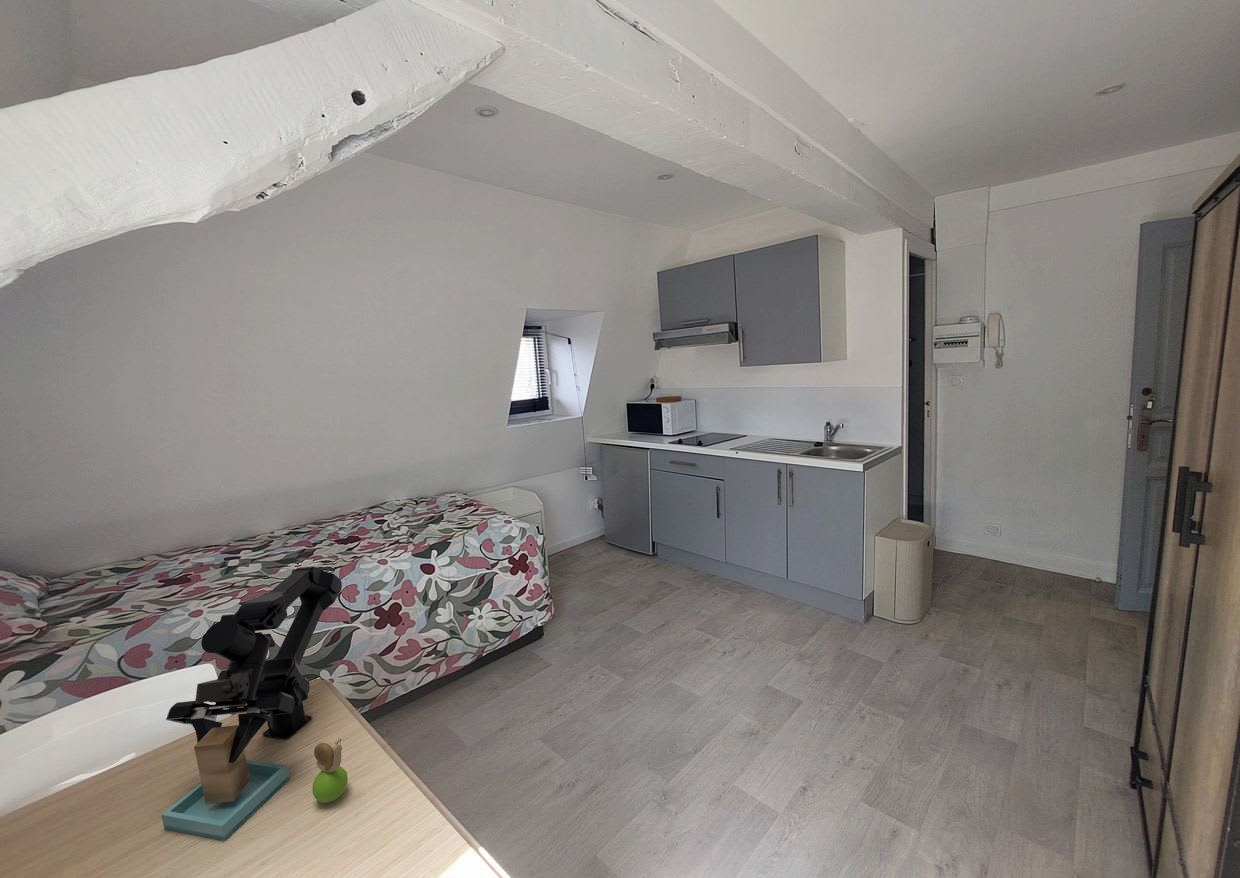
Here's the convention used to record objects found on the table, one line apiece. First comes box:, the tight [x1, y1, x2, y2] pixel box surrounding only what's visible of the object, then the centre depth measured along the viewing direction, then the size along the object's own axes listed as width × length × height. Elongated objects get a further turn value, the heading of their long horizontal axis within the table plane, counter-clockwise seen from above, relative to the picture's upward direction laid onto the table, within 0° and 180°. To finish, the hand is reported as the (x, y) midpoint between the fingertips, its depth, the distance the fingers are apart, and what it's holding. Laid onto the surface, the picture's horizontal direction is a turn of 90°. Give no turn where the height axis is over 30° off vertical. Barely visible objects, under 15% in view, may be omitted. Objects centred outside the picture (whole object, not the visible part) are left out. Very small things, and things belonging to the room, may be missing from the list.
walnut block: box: [193, 724, 250, 804], centre depth 89 cm, size 4×4×11 cm
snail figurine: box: [311, 737, 349, 804], centre depth 89 cm, size 5×6×12 cm
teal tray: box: [161, 758, 291, 842], centre depth 90 cm, size 13×13×3 cm
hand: (216, 764), depth 88 cm, fingers closed on walnut block, 4 cm apart
